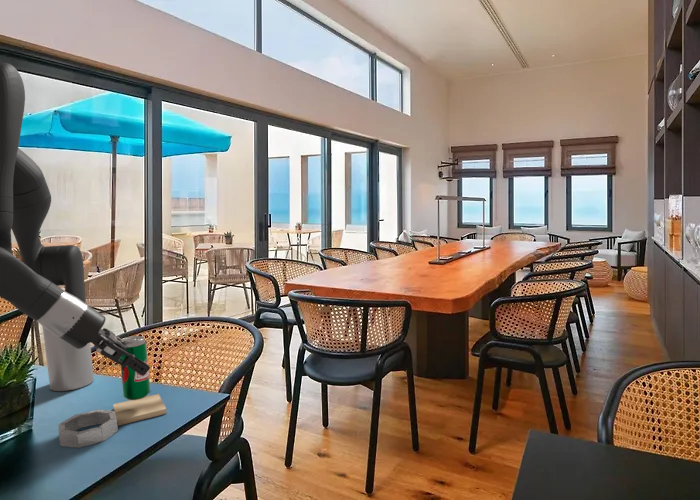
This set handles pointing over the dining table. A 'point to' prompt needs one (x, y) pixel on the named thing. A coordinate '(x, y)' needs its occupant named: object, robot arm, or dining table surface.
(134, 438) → the dining table surface
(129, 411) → the board
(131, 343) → the soda can
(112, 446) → the dining table surface
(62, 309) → the robot arm
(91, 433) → the ring
